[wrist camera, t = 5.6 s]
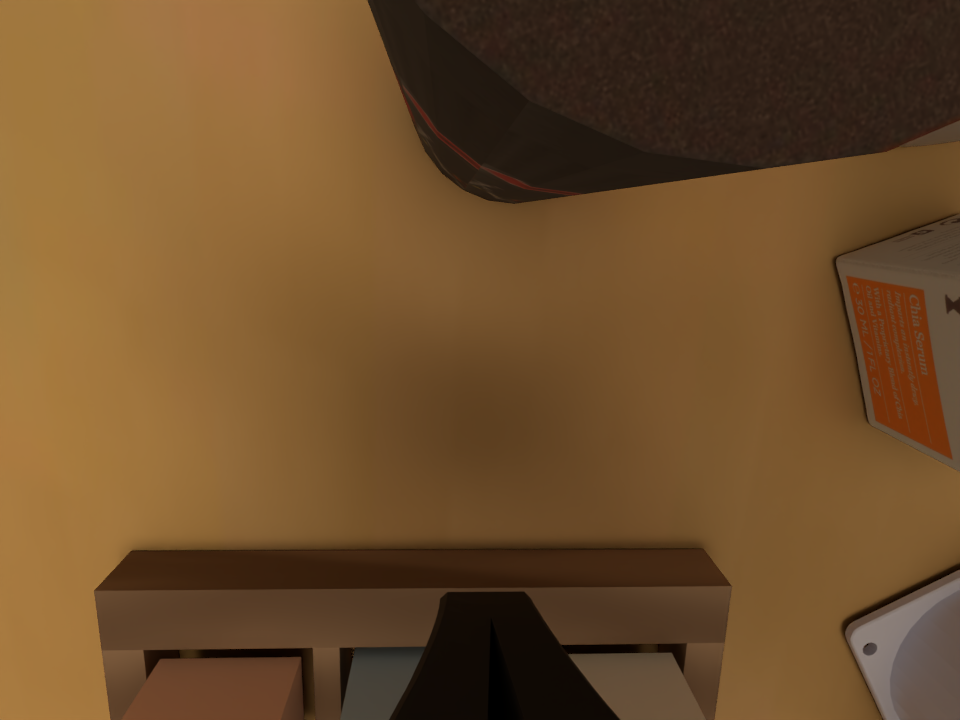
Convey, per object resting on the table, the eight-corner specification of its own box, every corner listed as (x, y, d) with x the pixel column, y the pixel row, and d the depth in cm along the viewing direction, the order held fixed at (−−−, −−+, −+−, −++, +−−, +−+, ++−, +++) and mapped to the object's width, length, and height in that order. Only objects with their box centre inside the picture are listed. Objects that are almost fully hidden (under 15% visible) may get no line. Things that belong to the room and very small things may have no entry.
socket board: (677, 766, 23) (701, 822, 21) (156, 778, 22) (125, 838, 20) (703, 549, 21) (731, 586, 19) (131, 551, 20) (93, 590, 18)
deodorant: (550, 240, 19) (907, 337, 4) (372, 136, 18) (45, -203, 3) (657, 55, 18) (1619, -666, 3) (474, -66, 17) (652, -1870, 2)
